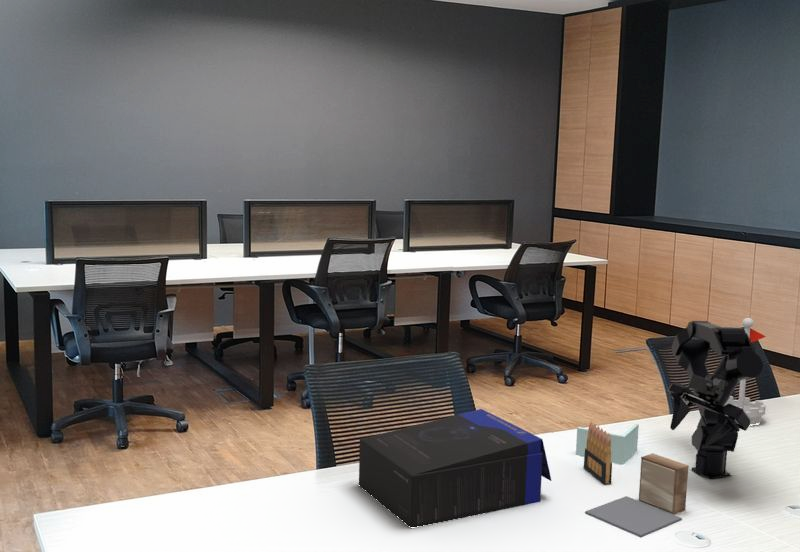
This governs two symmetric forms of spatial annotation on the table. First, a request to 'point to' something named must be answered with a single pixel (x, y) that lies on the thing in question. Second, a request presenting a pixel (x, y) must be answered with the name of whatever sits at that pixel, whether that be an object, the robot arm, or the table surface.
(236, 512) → the table surface
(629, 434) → the l-shaped corner panel
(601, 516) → the mat
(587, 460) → the ammunition clip
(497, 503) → the headphone box
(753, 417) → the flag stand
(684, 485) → the tan wooden block
